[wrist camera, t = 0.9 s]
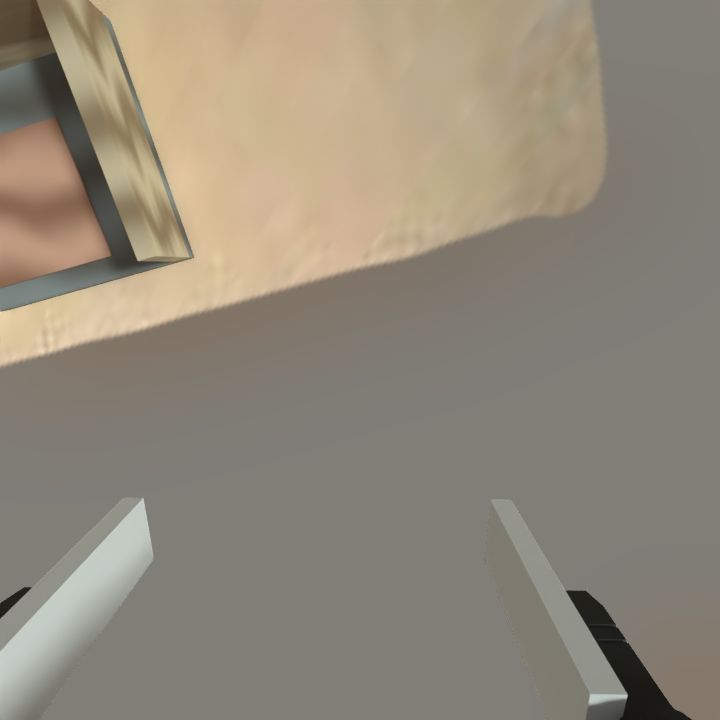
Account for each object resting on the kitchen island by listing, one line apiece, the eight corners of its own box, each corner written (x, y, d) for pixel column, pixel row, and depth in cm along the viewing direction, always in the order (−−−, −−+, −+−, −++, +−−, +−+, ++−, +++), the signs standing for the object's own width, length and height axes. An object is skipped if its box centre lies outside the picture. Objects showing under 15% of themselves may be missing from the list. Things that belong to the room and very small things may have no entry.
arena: (-97, 91, 34) (-213, 47, 27) (110, 20, 32) (42, -44, 26) (8, 310, 39) (-68, 319, 32) (194, 257, 37) (155, 256, 30)
